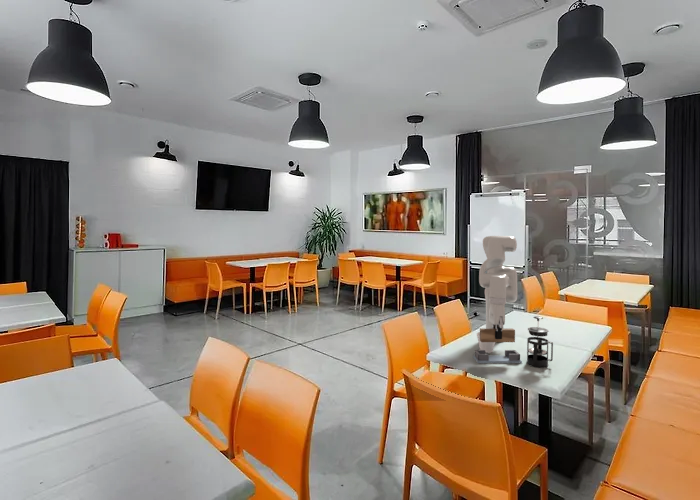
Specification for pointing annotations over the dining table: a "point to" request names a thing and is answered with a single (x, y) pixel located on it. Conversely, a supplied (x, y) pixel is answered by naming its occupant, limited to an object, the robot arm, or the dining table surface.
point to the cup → (485, 345)
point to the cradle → (497, 357)
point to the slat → (489, 335)
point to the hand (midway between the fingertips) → (497, 337)
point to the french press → (538, 347)
